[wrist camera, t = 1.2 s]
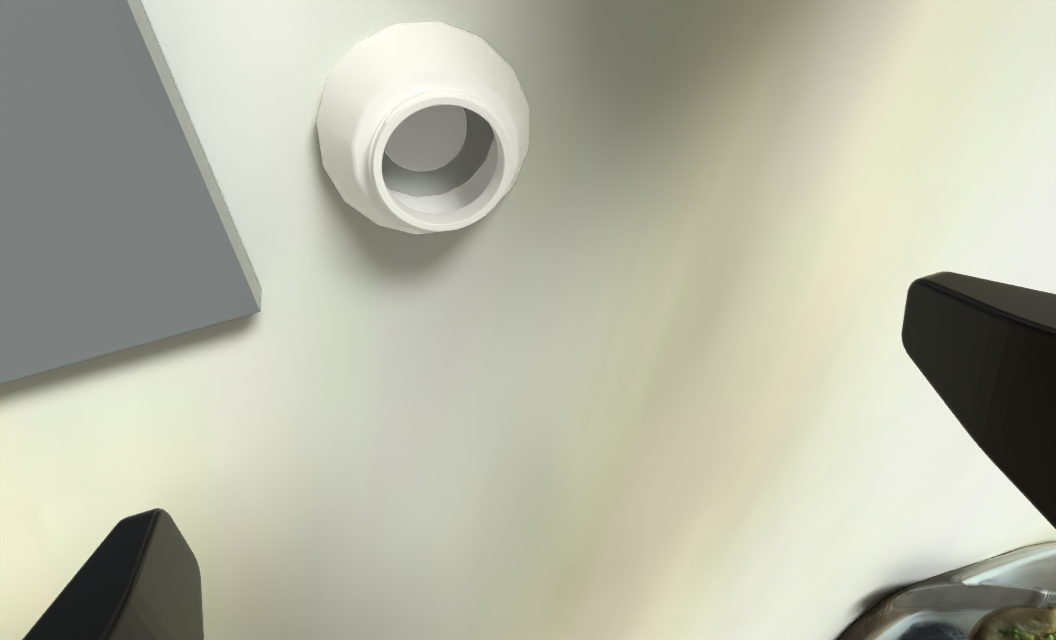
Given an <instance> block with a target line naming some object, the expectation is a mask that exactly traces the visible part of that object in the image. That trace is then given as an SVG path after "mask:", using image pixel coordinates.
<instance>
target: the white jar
mask: <svg viewBox="0 0 1056 640" xmlns="http://www.w3.org/2000/svg"><path fill="white" fill-rule="evenodd" d="M463 107H464V108H467V109H469V110H471V111H474V112H475V113H477V114H479V115H480V116H481V117H483V118H484V119H485V120H486V121H487V122H488V123H489V124H490V126H491V127H492V129H493V132H494V138H493V141H492V143H491V146H490V149H489V152H488V154H487V157H486V160H485V162H484V163H483V164H482V165H481V167H480V168H479V169H478V170H477V171H476V172H475V173H474V174H473V175H472V177H471V178H470V179H469V180H468V181H467V182H466V183H464V184H462V185H460V186H458V187H456V188H454V189H452V190H450V191H448V192H446V193H444V194H441V195H431V196H421V197H413V196H410V195H406V194H403V193H399V192H396V191H392V190H389V189H388V188H387V186H386V185H385V183H384V180H383V176H382V157H383V152H385V154H386V155H387V156H388V157H389V158H390V159H391V160H392V161H393V162H394V163H396V164H397V165H399V166H401V167H403V168H405V169H408V170H411V171H418V172H425V171H432V170H435V169H438V168H441V167H443V166H444V165H446V164H448V163H449V162H450V161H452V160H453V159H454V158H455V157H456V155H457V154H458V153H459V152H460V150H461V148H462V146H463V144H464V142H465V139H466V135H467V117H466V113H465V110H464V108H463ZM316 123H317V129H318V136H319V142H320V149H321V156H322V162H323V167H324V169H325V170H326V172H327V174H328V175H329V177H330V178H331V180H332V182H333V183H334V185H335V187H336V188H337V190H338V191H339V193H340V195H341V196H342V198H343V199H344V201H345V202H346V203H347V204H349V205H350V206H352V207H353V208H354V209H356V210H357V211H359V212H360V213H361V214H363V215H364V216H366V217H367V218H368V219H370V220H371V221H373V222H374V223H375V224H377V225H379V226H383V227H387V228H391V229H395V230H399V231H403V232H407V233H411V234H415V235H417V234H425V233H434V232H442V231H451V230H459V229H461V228H463V227H466V226H469V225H471V224H473V223H475V222H477V221H478V220H480V219H481V218H483V217H484V216H486V215H487V214H488V213H489V212H490V211H491V210H492V209H493V208H494V207H495V206H496V204H497V203H498V202H499V201H500V200H501V199H502V197H503V196H504V195H505V194H506V193H507V192H508V191H509V190H510V188H511V187H512V186H513V185H514V184H515V182H516V179H517V177H518V174H519V171H520V169H521V166H522V164H523V161H524V159H525V156H526V154H527V151H528V148H529V106H528V103H527V101H526V98H525V96H524V94H523V91H522V89H521V86H520V84H519V82H518V79H517V77H516V74H515V72H514V70H513V68H512V67H511V66H510V65H509V64H508V63H507V62H506V61H505V60H504V59H502V58H501V57H500V56H499V55H498V54H497V53H496V52H495V51H494V50H493V49H492V48H491V47H490V46H489V45H488V44H487V43H486V42H485V41H484V40H483V39H482V38H481V37H480V36H477V35H474V34H472V33H469V32H467V31H464V30H461V29H459V28H456V27H453V26H451V25H448V24H445V23H443V22H440V21H433V22H415V23H397V24H393V25H391V26H389V27H387V28H385V29H383V30H381V31H380V32H378V33H376V34H374V35H372V36H370V37H368V38H366V39H364V40H362V41H360V42H358V43H356V44H355V45H354V46H353V47H352V49H351V50H350V51H349V52H348V54H347V55H346V56H345V57H344V58H343V60H342V61H341V62H340V63H339V65H338V66H337V67H336V68H335V70H334V71H333V72H332V73H331V75H330V76H329V77H328V78H327V82H326V85H325V89H324V93H323V97H322V100H321V104H320V108H319V112H318V115H317V119H316Z"/></svg>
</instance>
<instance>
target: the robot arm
mask: <svg viewBox="0 0 1056 640" xmlns="http://www.w3.org/2000/svg"><path fill="white" fill-rule="evenodd" d="M902 342H903V345H904V348H905V350H906V352H907V354H908V355H909V357H910V358H911V359H912V360H913V362H914V363H915V364H916V366H917V367H918V368H919V370H920V371H921V372H922V374H923V375H924V376H925V377H926V379H927V380H928V381H929V383H930V384H931V385H932V387H933V388H934V389H935V391H936V392H937V393H938V394H939V396H940V397H941V398H942V400H943V401H944V402H945V404H946V405H947V406H948V408H949V409H950V410H951V411H952V413H953V414H954V415H955V417H956V418H957V419H958V421H959V422H960V423H961V425H962V426H963V427H964V428H965V430H966V431H967V432H968V434H969V435H970V436H971V437H972V438H973V440H974V441H975V442H976V443H977V445H978V446H979V447H980V448H981V449H982V450H983V452H984V453H985V454H986V455H987V456H988V457H989V458H990V459H991V461H992V462H993V463H994V464H995V465H996V466H997V467H998V468H999V469H1000V470H1001V471H1002V472H1003V473H1004V474H1005V476H1006V477H1007V478H1008V479H1009V480H1010V481H1011V482H1012V483H1013V484H1014V485H1015V486H1016V487H1017V488H1018V489H1019V490H1020V492H1021V493H1022V494H1023V495H1024V496H1025V497H1026V498H1027V499H1028V500H1029V501H1030V502H1031V503H1032V504H1033V505H1034V506H1035V508H1036V509H1037V510H1038V511H1039V512H1040V513H1041V514H1042V515H1043V516H1044V517H1045V518H1046V519H1047V520H1048V521H1049V522H1050V524H1051V525H1052V526H1053V527H1054V528H1055V529H1056V294H1052V293H1047V292H1043V291H1038V290H1033V289H1028V288H1024V287H1019V286H1014V285H1010V284H1005V283H1000V282H995V281H991V280H986V279H981V278H977V277H972V276H967V275H962V274H958V273H953V272H939V273H935V274H932V275H928V276H925V277H922V278H919V279H916V280H915V281H913V282H912V284H911V285H910V287H909V289H908V293H907V299H906V306H905V313H904V320H903V327H902ZM22 640H204V632H203V613H202V593H201V576H200V570H199V566H198V563H197V560H196V557H195V556H194V554H193V552H192V550H191V549H190V547H189V546H188V544H187V542H186V541H185V539H184V537H183V536H182V534H181V532H180V531H179V529H178V527H177V526H176V524H175V523H174V521H173V519H172V518H171V516H170V515H169V514H168V513H167V512H166V511H165V510H163V509H159V508H156V509H152V510H149V511H146V512H142V513H139V514H136V515H132V516H129V517H126V518H124V519H122V520H121V521H120V522H119V523H118V524H117V525H116V526H115V527H114V528H113V530H112V531H111V532H110V533H109V534H108V536H107V537H106V538H105V539H104V541H103V542H102V543H101V544H100V545H99V547H98V548H97V549H96V550H95V552H94V553H93V554H92V555H91V556H90V558H89V559H88V560H87V561H86V563H85V564H84V565H83V566H82V567H81V569H80V570H79V571H78V572H77V574H76V575H75V576H74V577H73V578H72V580H71V581H70V582H69V583H68V584H67V586H66V587H65V588H64V589H63V591H62V592H61V593H60V594H59V595H58V597H57V598H56V599H55V600H54V602H53V603H52V604H51V605H50V606H49V608H48V609H47V610H46V611H45V613H44V614H43V615H42V616H41V617H40V619H39V620H38V621H37V622H36V624H35V625H34V626H33V627H32V628H31V630H30V631H29V632H28V633H27V635H26V636H25V637H24V638H23V639H22Z"/></svg>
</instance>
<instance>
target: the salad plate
mask: <svg viewBox="0 0 1056 640" xmlns="http://www.w3.org/2000/svg"><path fill="white" fill-rule="evenodd" d="M838 640H1056V542H1052V543H1044V544H1038V545H1032V546H1027V547H1023V548H1020V549H1017V550H1015V551H1012V552H1009V553H1006V554H1003V555H1000V556H997V557H994V558H991V559H988V560H985V561H982V562H978V563H975V564H972V565H969V566H966V567H962V568H959V569H955V570H951V571H948V572H945V573H942V574H940V575H937V576H934V577H931V578H928V579H925V580H923V581H920V582H918V583H915V584H912V585H910V586H908V587H905V588H903V589H901V590H899V591H897V592H895V593H893V594H891V595H890V596H888V597H887V598H885V599H883V600H882V601H881V602H879V603H878V604H877V605H875V606H874V607H873V608H871V609H870V610H869V611H867V612H866V613H865V614H864V615H862V616H861V617H860V618H859V619H858V620H856V621H855V622H854V623H853V624H852V625H851V626H850V627H849V628H848V629H847V630H846V631H845V632H844V633H843V634H842V635H841V636H840V638H839V639H838Z"/></svg>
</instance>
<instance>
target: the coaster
mask: <svg viewBox="0 0 1056 640" xmlns="http://www.w3.org/2000/svg"><path fill="white" fill-rule="evenodd" d="M260 310H261V286H260V284H259V282H258V279H257V277H256V274H255V272H254V270H253V267H252V265H251V262H250V260H249V258H248V255H247V253H246V251H245V248H244V246H243V243H242V241H241V239H240V236H239V234H238V231H237V229H236V227H235V224H234V222H233V220H232V217H231V215H230V212H229V210H228V208H227V205H226V203H225V200H224V198H223V196H222V193H221V191H220V189H219V186H218V184H217V181H216V179H215V177H214V174H213V172H212V169H211V167H210V165H209V162H208V160H207V158H206V155H205V153H204V150H203V148H202V146H201V143H200V141H199V138H198V136H197V134H196V131H195V129H194V127H193V124H192V122H191V119H190V117H189V115H188V112H187V110H186V107H185V105H184V103H183V100H182V98H181V95H180V93H179V91H178V88H177V86H176V84H175V81H174V79H173V76H172V74H171V72H170V69H169V67H168V64H167V62H166V60H165V57H164V55H163V53H162V50H161V48H160V45H159V43H158V41H157V38H156V36H155V33H154V31H153V29H152V26H151V24H150V22H149V19H148V17H147V14H146V12H145V10H144V7H143V5H142V2H141V0H0V384H1V383H5V382H9V381H12V380H16V379H19V378H23V377H27V376H30V375H34V374H37V373H41V372H45V371H48V370H52V369H55V368H59V367H63V366H66V365H70V364H73V363H77V362H81V361H84V360H88V359H92V358H95V357H99V356H102V355H106V354H110V353H113V352H117V351H120V350H124V349H128V348H131V347H135V346H138V345H142V344H146V343H149V342H153V341H156V340H160V339H164V338H167V337H171V336H174V335H178V334H182V333H185V332H189V331H192V330H196V329H200V328H203V327H207V326H210V325H214V324H218V323H221V322H225V321H228V320H232V319H236V318H239V317H243V316H246V315H250V314H254V313H257V312H260Z"/></svg>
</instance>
